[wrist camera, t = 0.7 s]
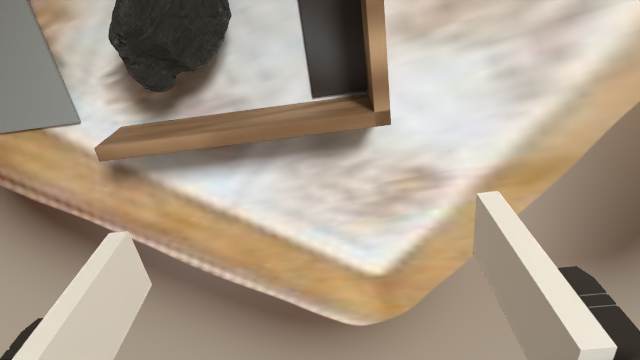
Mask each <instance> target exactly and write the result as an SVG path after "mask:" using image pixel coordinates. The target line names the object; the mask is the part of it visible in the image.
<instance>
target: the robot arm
mask: <svg viewBox="0 0 640 360" xmlns="http://www.w3.org/2000/svg"><path fill="white" fill-rule="evenodd" d="M473 255H474V256H475V258H476V260H477V262H478V264H479V266H480V268H481V270H482V272H483V274H484V276H485V278H486V279H487V282H488V284H489V286H490V287H491V289H492V291H493V293H494V295H495V297H496V299H497V301H498V303H499V305H500V307H501V309H502V311H503V312H504V315H505V316H506V318H507V320H508V322H509V324H510V326H511V328H512V330H513V332H514V334H515V336H516V338H517V340H518V342H519V344H520V345H521V347H522V349H523V351H524V353H525V355H526V357H527V359H528V360H640V331H639V330H638V328H637V327H636V326H635V325H634V324H633V323H632V322H631V320H630V319H629V318H628V317H627V316H626V314H625V313H624V312H623V311H622V310H621V309H620V308H619V307H617V306H616V303H615V302H614V300H613V299H612V298H611V297H610V296H609V295H607V294H606V291H605V290H604V289H603V288H602V286H601V285H600V284H599V283H598V282H597V281H596V279H595V278H593V277H592V276H591V275H589V274H587V273H586V272H584V271H583V270H581V269H580V268H578V267H577V266H575V267H564V268H557V267H556V266H555V265H554V263H553V262H552V261H551V260H550V258H549V257H548V256H547V254H546V253H545V252H544V250H543V249H542V248H541V246H540V245H539V244H538V242H537V241H536V240H535V239H534V237H533V236H532V235H531V233H530V232H529V231H528V230H527V228H526V227H525V225H524V224H523V223H522V222H521V220H520V219H519V218H518V216H517V215H516V214H515V212H514V211H513V210H512V208H511V207H510V206H509V204H508V203H507V202H506V201H505V199H504V198H503V197H502V195H501V194H500V193H499V191H496V192H486V193H477V198H476V212H475V227H474V242H473ZM151 286H152V284H151V282H150V279H149V277H148V275H147V273H146V270H145V268H144V266H143V264H142V261H141V259H140V257H139V254H138V252H137V250H136V248H135V245H134V243H133V241H132V239H131V236H130V234H129V232H128V231H126V232H116V233H109V234H108V235H107V237H106V238H105V239H104V240H103V242H102V243H101V244H100V246H99V247H98V248H97V250H96V251H95V252H94V253H93V255H92V256H91V257H90V259H89V260H88V261H87V263H86V264H85V265H84V267H83V268H82V269H81V270H80V272H79V273H78V274H77V276H76V277H75V278H74V280H73V281H72V282H71V283H70V285H69V286H68V287H67V289H66V290H65V291H64V293H63V294H62V295H61V296H60V298H59V299H58V300H57V302H56V303H55V304H54V305H53V307H52V308H51V309H50V311H49V312H48V313H47V315H46V316H45V317H44V318H39V319H37V320H36V321H34V322H33V323H32V324H31V325H30V326H29V327H27V328H26V329H25V330H24V331H22V332H21V333H20V335H19V336H18V337H17V338H16V340H15V341H14V342H13V343H12V345H11V346H10V349H9V350H7V351H6V352H5V353H4V355H3V356H2V357H1V358H0V360H113V359H114V357H115V355H116V353H117V351H118V349H119V347H120V346H121V344H122V342H123V340H124V338H125V336H126V334H127V332H128V330H129V328H130V326H131V324H132V322H133V320H134V318H135V317H136V315H137V313H138V311H139V309H140V307H141V305H142V303H143V301H144V299H145V297H146V295H147V293H148V291H149V289H150V288H151Z"/></svg>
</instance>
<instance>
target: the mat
mask: <svg viewBox="0 0 640 360" xmlns="http://www.w3.org/2000/svg"><path fill="white" fill-rule="evenodd" d="M79 122H81V121H80V118H79V116H78V114H77V112H76V109H75V107H74V105H73V102H72V100H71V98H70V95H69V93H68V91H67V88H66V86H65V84H64V82H63V79H62V77H61V75H60V72H59V70H58V68H57V65H56V63H55V61H54V58H53V56H52V54H51V52H50V49H49V47H48V45H47V42H46V40H45V38H44V35H43V33H42V31H41V28H40V26H39V24H38V22H37V19H36V17H35V15H34V12H33V10H32V8H31V5H30V3H29V1H28V0H0V133H5V132H13V131H20V130H27V129H35V128H42V127H50V126H57V125H65V124H72V123H79Z"/></svg>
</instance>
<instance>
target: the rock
mask: <svg viewBox="0 0 640 360" xmlns="http://www.w3.org/2000/svg"><path fill="white" fill-rule="evenodd" d="M230 18H231V12H230V8H229V3H228V0H116V4H115V7H114V10H113V13H112V21H111V24H110V28H109V40H110V43H111V44H112V45H113V47H114V48H115V49H116V50H117V51H118V53H119V56H120V57H121V58H122V60H123V61H124V64H125V66H126V69H127V71H128V72H129V74H130V75H131V76H132V77H133V78H134V79H135V80H136V81H137V82H139V83H140V84H141V85H142V86H143V87H144V88H146V89H149V90H151V91H155V92H165V91H168V90H169V89H171V88H173V86H174V84H175V79H176V75H177V74H178V73H180V72H182V71H194V70H196V69H197V68H198V67H199V66H200V65H205V64H206V63H207V62H208V61H209V60H210V59H211V57H212V56H213V55H214V54H215V53H216V52H217V50H218V47H219V45H220V44H222V42H223V40H224V36H225V32H226V30H227V28H228V24H229V20H230Z"/></svg>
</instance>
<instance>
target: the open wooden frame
mask: <svg viewBox="0 0 640 360" xmlns="http://www.w3.org/2000/svg"><path fill="white" fill-rule="evenodd" d="M299 2H300V9H301V15H302V22H303V29H304V36H305V43H306V49H307V56H308V63H309V70H310V77H311V83H312V90H313V97H316V96H324V95H331V94H339V93H347V92H354V91H362V90H368V94H366V95H359V96H351V97H344V98H336V99H329V100H321V101H314V102H306V103H298V104H291V105H283V106H276V107H268V108H261V109H253V110H245V111H238V112H230V113H223V114H215V115H208V116H200V117H192V118H185V119H177V120H170V121H162V122H155V123H147V124H139V125H132V126H124V127H121V128H119V129H118V130H117V131H115V132H114V133H113V134H112V135H110V136H109V137H108V138H107V139H105V140H104V141H103V142H101V143H100V144H99V145H98V146H96V147H95V148H94V149H95V152H96V154H97V156H98V159H99V161H108V160H116V159H124V158H132V157H140V156H148V155H156V154H163V153H171V152H179V151H187V150H195V149H203V148H211V147H219V146H227V145H235V144H242V143H250V142H258V141H266V140H274V139H282V138H290V137H298V136H306V135H314V134H322V133H329V132H337V131H345V130H353V129H361V128H369V127H377V126H385V125H391V117H390V100H389V83H388V65H387V48H386V31H385V13H384V0H299Z"/></svg>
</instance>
